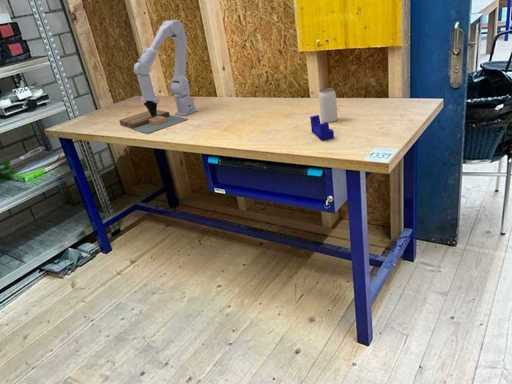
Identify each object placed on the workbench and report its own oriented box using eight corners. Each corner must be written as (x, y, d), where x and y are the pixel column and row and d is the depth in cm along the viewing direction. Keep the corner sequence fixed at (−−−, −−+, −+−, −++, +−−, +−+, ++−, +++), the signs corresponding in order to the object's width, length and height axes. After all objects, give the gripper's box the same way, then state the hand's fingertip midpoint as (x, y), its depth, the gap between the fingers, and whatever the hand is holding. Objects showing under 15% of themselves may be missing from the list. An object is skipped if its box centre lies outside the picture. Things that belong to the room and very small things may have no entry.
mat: (188, 119, 203) (188, 118, 203) (147, 134, 191) (147, 133, 191) (171, 116, 214) (171, 115, 214) (132, 129, 202) (132, 128, 202)
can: (338, 117, 168) (336, 87, 163) (336, 122, 163) (333, 91, 158) (322, 118, 171) (320, 88, 166) (319, 123, 165) (316, 92, 160)
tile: (166, 121, 205) (165, 117, 204) (155, 125, 202) (154, 121, 201) (160, 119, 210) (159, 115, 209) (149, 123, 207) (148, 119, 206)
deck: (170, 116, 214) (168, 112, 213) (134, 129, 203) (133, 124, 202) (155, 113, 225) (154, 109, 224) (120, 125, 215) (119, 120, 214)
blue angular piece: (334, 138, 148) (332, 122, 145) (321, 141, 147) (320, 125, 145) (323, 129, 158) (321, 114, 156) (311, 132, 158) (310, 116, 155)
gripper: (132, 89, 204) (140, 116, 210) (146, 91, 193) (154, 120, 199) (145, 85, 208) (152, 112, 213) (159, 87, 197) (166, 115, 203)
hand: (154, 116), depth 206 cm, fingers closed
